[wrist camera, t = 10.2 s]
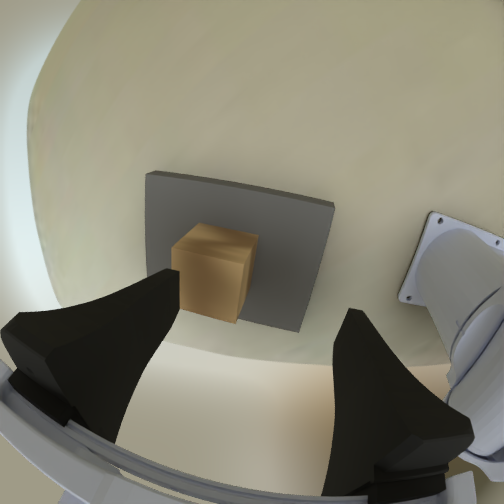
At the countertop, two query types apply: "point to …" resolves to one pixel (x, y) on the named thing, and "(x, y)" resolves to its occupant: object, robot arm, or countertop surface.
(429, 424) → the robot arm
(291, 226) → the charcoal mat
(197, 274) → the oak cube
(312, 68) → the countertop surface
